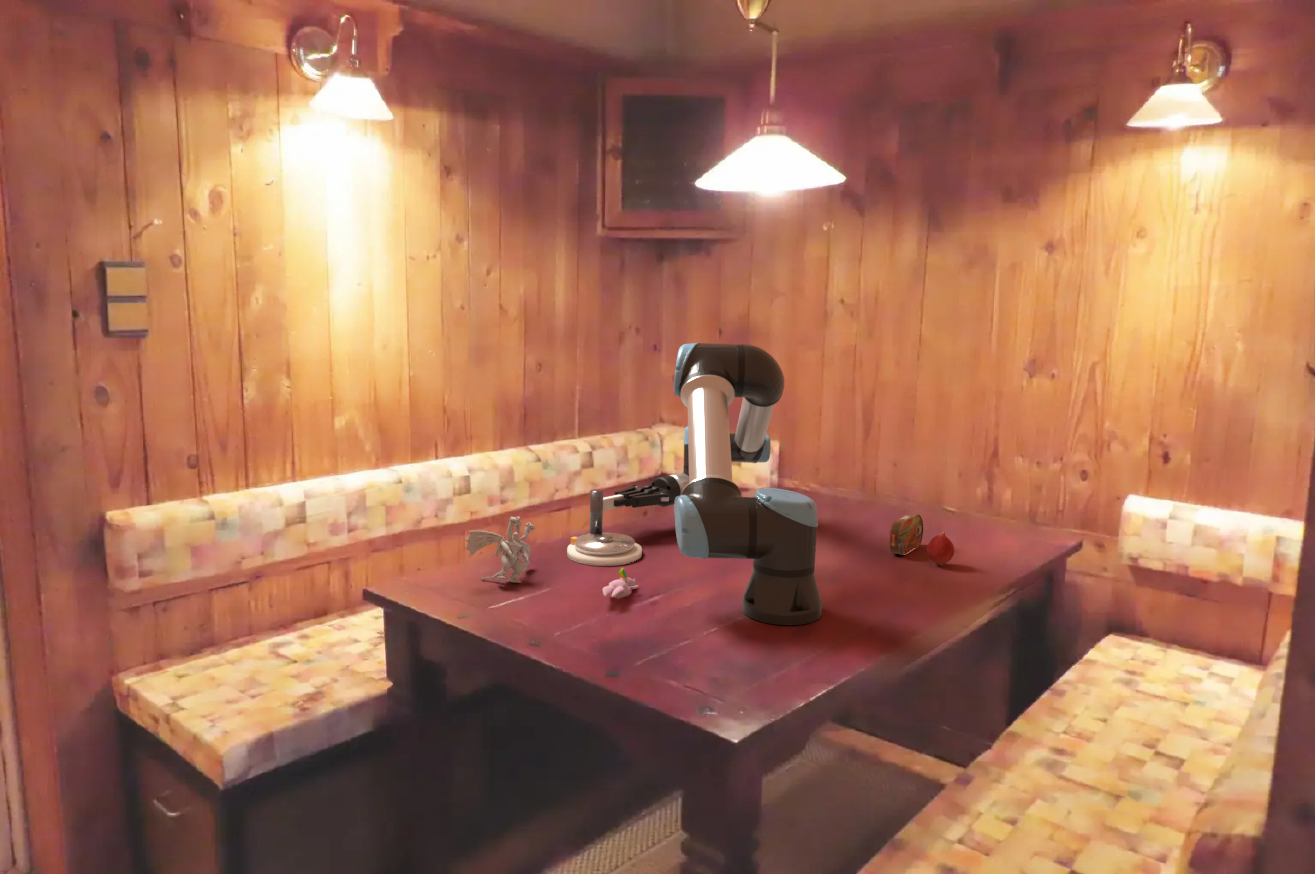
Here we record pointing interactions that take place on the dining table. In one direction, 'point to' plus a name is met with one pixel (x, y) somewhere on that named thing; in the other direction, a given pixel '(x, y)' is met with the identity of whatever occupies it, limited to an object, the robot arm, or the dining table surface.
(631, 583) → the rabbit figure
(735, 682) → the dining table surface
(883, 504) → the dining table surface
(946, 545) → the onion
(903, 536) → the tin
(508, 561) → the grey dragon figurine
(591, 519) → the dial
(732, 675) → the dining table surface
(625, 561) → the dial base
